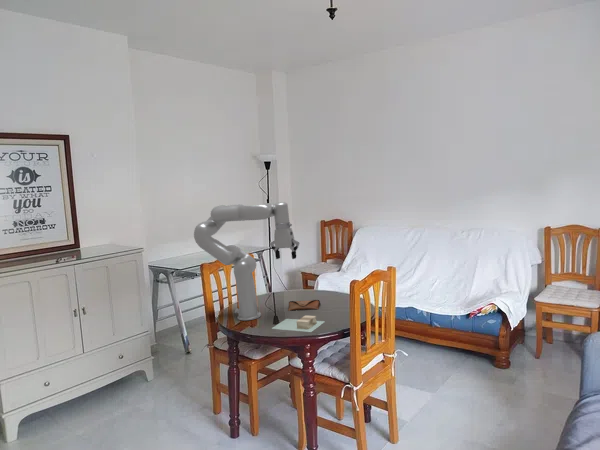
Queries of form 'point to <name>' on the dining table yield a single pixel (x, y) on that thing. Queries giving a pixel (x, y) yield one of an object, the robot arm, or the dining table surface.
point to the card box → (306, 322)
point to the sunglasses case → (304, 305)
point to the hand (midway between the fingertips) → (286, 258)
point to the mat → (295, 325)
